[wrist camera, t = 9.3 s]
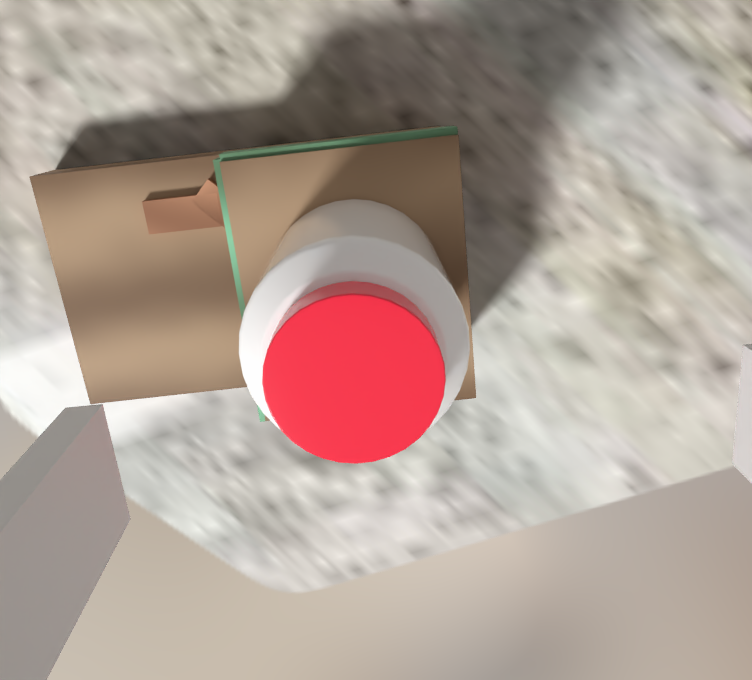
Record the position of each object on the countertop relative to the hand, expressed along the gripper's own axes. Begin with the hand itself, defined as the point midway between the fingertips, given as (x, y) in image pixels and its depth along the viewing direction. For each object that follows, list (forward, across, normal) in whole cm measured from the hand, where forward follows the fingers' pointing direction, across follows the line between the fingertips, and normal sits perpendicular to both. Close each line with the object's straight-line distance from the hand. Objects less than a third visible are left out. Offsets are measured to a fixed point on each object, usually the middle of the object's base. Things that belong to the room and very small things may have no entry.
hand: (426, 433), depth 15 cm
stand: (+25, -7, -2) cm, 26 cm away
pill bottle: (+18, -2, -2) cm, 18 cm away
